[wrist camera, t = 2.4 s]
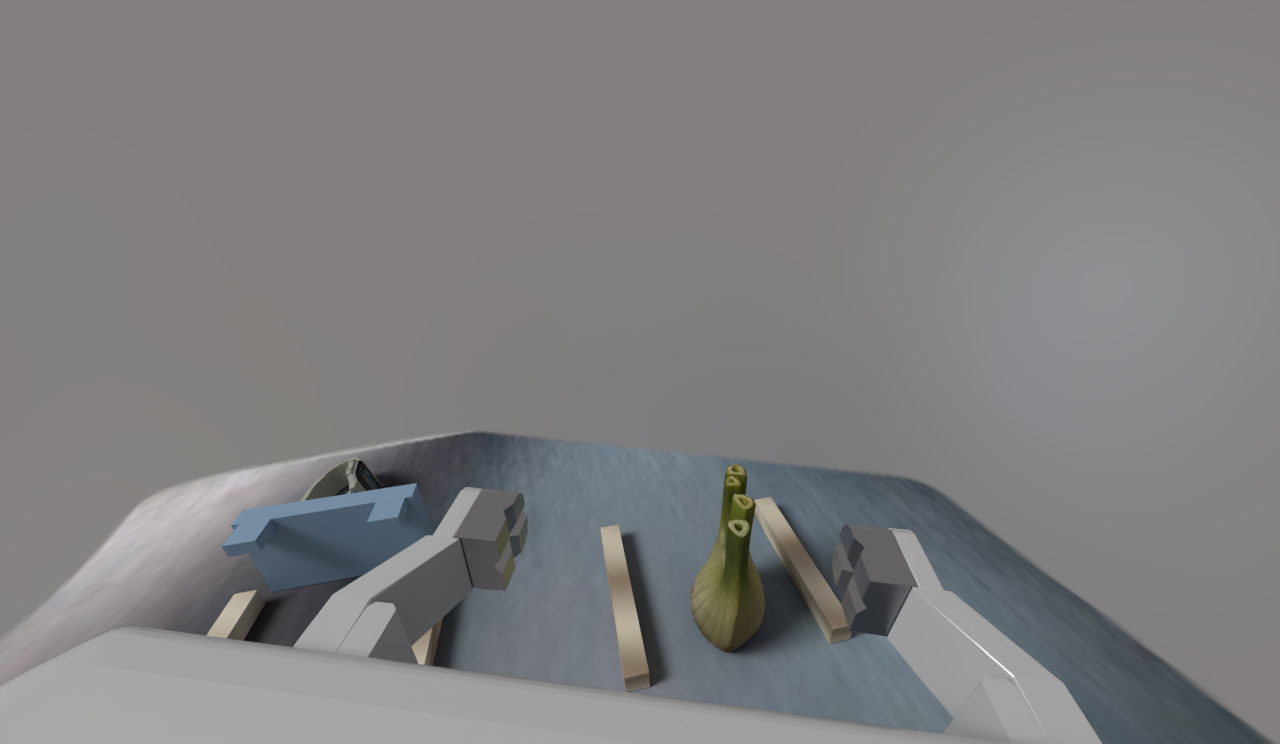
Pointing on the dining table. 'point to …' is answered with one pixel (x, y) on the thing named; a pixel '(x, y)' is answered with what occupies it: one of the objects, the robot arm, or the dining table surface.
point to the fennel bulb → (730, 573)
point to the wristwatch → (344, 480)
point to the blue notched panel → (329, 535)
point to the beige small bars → (620, 599)
